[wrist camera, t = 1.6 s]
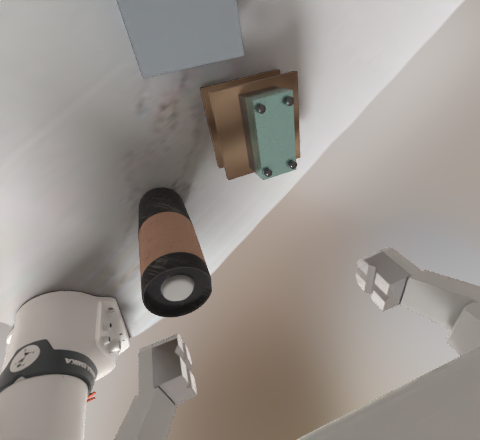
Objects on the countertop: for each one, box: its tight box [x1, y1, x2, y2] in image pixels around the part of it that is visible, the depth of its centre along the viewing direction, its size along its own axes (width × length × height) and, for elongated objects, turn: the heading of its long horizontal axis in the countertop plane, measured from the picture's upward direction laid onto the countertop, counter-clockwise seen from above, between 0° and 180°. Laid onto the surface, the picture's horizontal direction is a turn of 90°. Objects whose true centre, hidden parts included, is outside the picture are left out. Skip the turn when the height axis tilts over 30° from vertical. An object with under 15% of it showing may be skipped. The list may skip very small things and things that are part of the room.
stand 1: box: [117, 0, 244, 78], centre depth 29 cm, size 12×12×6 cm
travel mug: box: [138, 188, 212, 317], centre depth 36 cm, size 8×8×20 cm
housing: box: [238, 86, 297, 180], centre depth 34 cm, size 10×5×6 cm, turn 10°
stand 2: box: [200, 69, 300, 180], centre depth 39 cm, size 12×12×6 cm
